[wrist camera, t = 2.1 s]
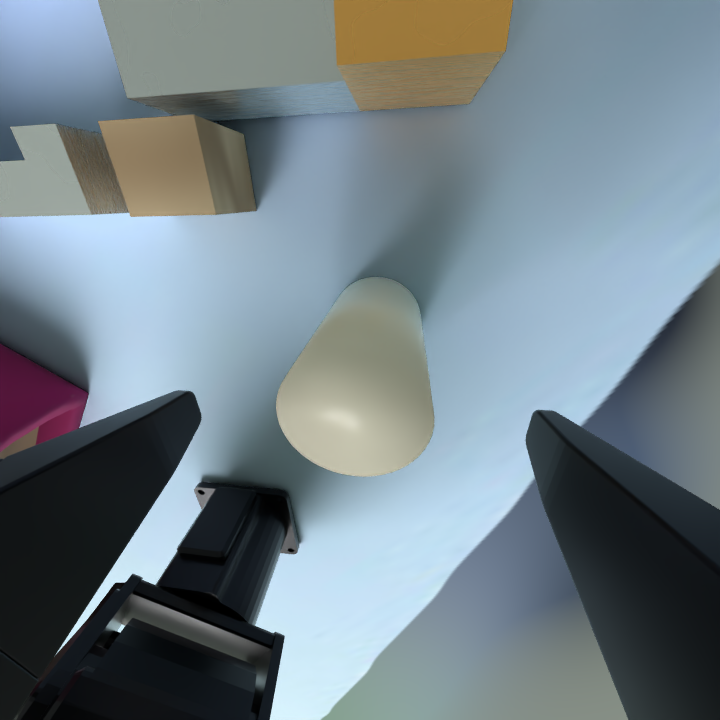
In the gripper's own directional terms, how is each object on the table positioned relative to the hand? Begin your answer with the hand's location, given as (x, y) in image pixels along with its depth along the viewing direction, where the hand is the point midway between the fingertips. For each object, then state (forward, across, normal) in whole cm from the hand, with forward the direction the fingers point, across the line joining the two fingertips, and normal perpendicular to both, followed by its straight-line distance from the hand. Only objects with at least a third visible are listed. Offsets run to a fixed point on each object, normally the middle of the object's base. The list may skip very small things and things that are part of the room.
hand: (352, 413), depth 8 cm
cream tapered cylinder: (+7, 0, 0) cm, 7 cm away
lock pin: (+6, +2, -9) cm, 11 cm away
